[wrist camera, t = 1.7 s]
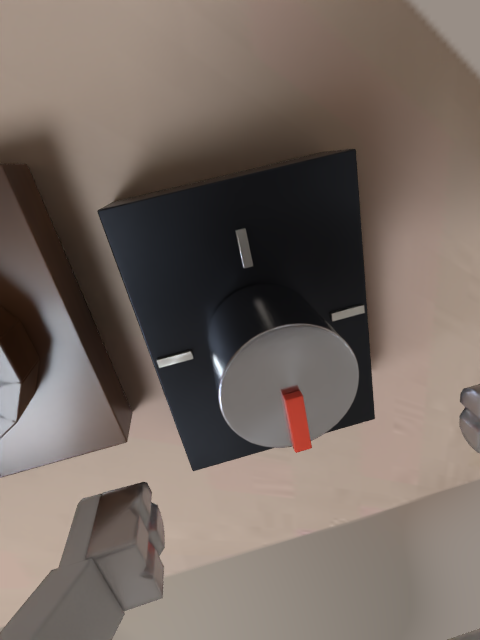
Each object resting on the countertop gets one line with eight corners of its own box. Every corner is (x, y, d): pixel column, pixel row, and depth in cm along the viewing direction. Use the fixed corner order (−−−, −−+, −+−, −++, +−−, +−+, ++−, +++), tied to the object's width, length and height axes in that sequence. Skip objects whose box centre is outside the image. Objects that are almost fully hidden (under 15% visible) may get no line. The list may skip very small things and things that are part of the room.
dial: (195, 299, 13) (202, 352, 10) (307, 269, 14) (359, 310, 10) (222, 393, 15) (237, 471, 11) (320, 366, 16) (369, 433, 12)
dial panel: (111, 202, 15) (95, 211, 12) (323, 151, 15) (358, 148, 12) (190, 429, 19) (193, 474, 17) (348, 385, 20) (377, 421, 17)
